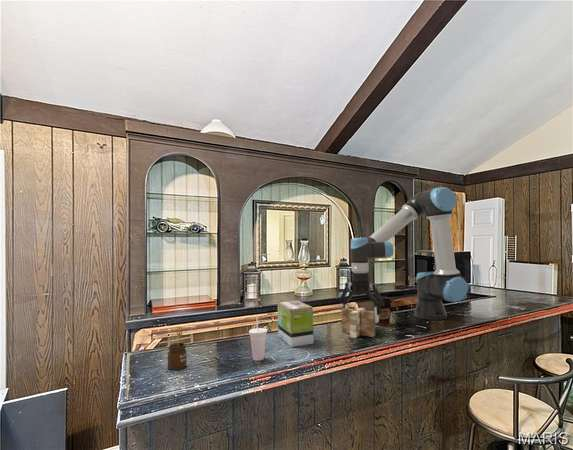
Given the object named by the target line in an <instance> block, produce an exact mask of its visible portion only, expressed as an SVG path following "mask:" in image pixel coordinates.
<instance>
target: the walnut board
mask: <svg viewBox="0 0 573 450" xmlns="http://www.w3.org/2000/svg"><path fill="white" fill-rule="evenodd" d="M354 310H356V309H354V308H349V309H346V308H343V307H342V309H341V331H342V333H343V334H345V333H346V334H350V318H349V313H350V312H352V311H354ZM359 324H360V336H363V337H365V336H366V337H371V338H372V337H373V338H374V337H375V336H376V323H375V310H367V309H366V310H362V311H361V322H360V323H359Z"/></svg>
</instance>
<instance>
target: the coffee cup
mask: <svg viewBox="0 0 573 450" xmlns="http://www.w3.org/2000/svg"><path fill="white" fill-rule="evenodd" d="M374 297H375V298H376V296H374ZM381 297H382V299H383V301H384V303H385V305H384V306H381V314H380V315H379V322H378V323H375V326H378V327H390V326H391V322H390V320H391V315H392V314H391V312H392V311H391V310H392V309H391V306H392V299H391V298H390V297H389V296H381ZM376 300H377V301H378V299H377V298H376ZM378 302H379V301H378ZM373 307H374V310H375V307H376V306H375V304H374V303H373Z"/></svg>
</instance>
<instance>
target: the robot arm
mask: <svg viewBox="0 0 573 450" xmlns="http://www.w3.org/2000/svg"><path fill="white" fill-rule="evenodd" d="M457 202H458V201H457V197H456V194H455V193H454V191H452V190H451V189H450V188H449V187H444V186H442V187H441V186H440V187H435V188H431V189H427V190H423V191H420V192H418V193H417V194H415V195H413V196H412V197H411V198H410V199H409V200H408V201H407V202H405V203H404V204H403V205H402V206H401V209H400V210H399V211H397V213H396V214H395V215H393V216H392V217H391V218H389V220H387V221H386V222H385V223H384V224H382V226H380V227H378V229H377V230H376V231H374V232H373V233H371V235H369V237H352V238H351V239H350V258H351V272H352V273H351V282H349V281H347V282H345V284H344V289H343V291H342V293H341V295H340V298H339V300H338V302H339V303H340V304H341V303H342V306H343V307H342V309H343V308H346V309H350V303H349V302H350V300H351V299H352V298H353V296H354V295H355V294H361V295H364V294H365V295H366V297H368V298H369V300H370V301H371V302H372V303H373V305H374V304H375V306H376V307H375V309H374V311H375V324H376V323H378V322H379V315H380V314H381V306H384V305H385V303H384V301H383V299H382V297H383V296H382V295H381V293H380V291H379V289H378V286H377V283H370V273H369V271H370V269H369V268H370V267H369V264H370V263H369V259H388V258H389V259H390V258H392V256H393V255H394V252H395V251H394V246H393V244H392V242H390V241H389V240H391V239H392V238H393V237H394V236H395V235H396V234H398V233H399V232H400V231H401V230H403V229H404V228H405V227H406V226H407V225H408V224H409V223H410V222H412V221H416V220H417V219H419V218H420V217H421V216H424V215H425V217H426V219H427V220H429V222H430V230H431V238H432V247H433V254H434V263H435V271H426V272H424V271H423V272H418V273H417V274H416V290H417V291H416V293H417V302H416V305H415V308H414V317H415V318H418V319H423V320H430V321H440V320H446V319H447V312H446V308H445V305H444V303H443V300H444V301H446V302H453V303H457V302H458V303H459V302H460V301H462V300H463V299H465V297H466V295H467V293H468V288H469V286H468V283H467V281H466V280H465V278H463V277H461V271H460V270H459V269H457V267H456V259H455V251H454V243H453V234H452V225H451V217H452V216H453V210H454V209H455V208H456V206H457ZM350 288H352V290H351V291H350V293H349V294H348V292H349V290H350ZM370 288H371V290H372V292H373V293H372V292H371V290H370ZM347 294H348V295H347ZM373 294H374V295H375V296H374V295H373ZM375 297H376V298H377V299H378V301H379V302H378V301H377V300H376V298H375Z"/></svg>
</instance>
